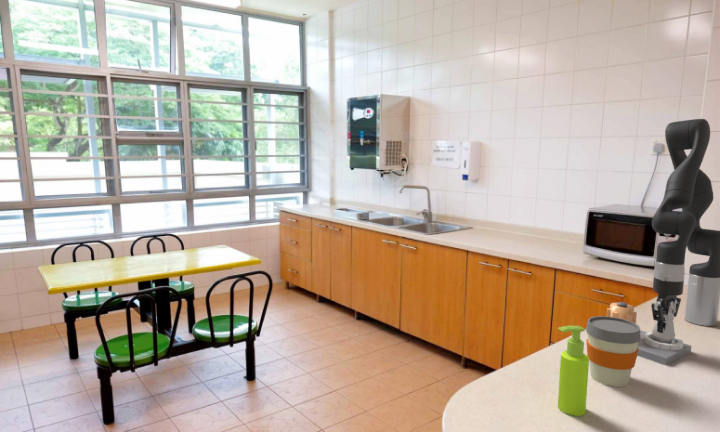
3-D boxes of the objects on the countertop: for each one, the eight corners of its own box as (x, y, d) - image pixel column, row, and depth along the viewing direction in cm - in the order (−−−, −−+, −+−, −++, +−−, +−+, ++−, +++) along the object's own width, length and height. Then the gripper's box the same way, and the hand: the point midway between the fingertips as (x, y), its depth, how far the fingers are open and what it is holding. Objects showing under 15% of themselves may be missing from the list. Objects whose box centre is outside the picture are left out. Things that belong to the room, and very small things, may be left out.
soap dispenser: (548, 403, 109) (553, 322, 106) (576, 401, 109) (581, 321, 107) (561, 416, 103) (566, 332, 100) (590, 415, 104) (596, 331, 101)
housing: (619, 329, 155) (622, 293, 153) (690, 352, 137) (694, 311, 135) (593, 340, 146) (596, 301, 144) (665, 365, 128) (669, 321, 127)
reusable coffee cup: (608, 393, 113) (612, 335, 111) (572, 370, 125) (575, 318, 123) (648, 386, 117) (653, 330, 115) (609, 365, 129) (613, 313, 127)
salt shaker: (667, 338, 141) (671, 298, 139) (678, 346, 135) (682, 304, 134) (647, 338, 142) (651, 297, 140) (657, 345, 136) (661, 303, 134)
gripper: (666, 271, 143) (661, 324, 145) (643, 277, 135) (638, 333, 137) (693, 276, 136) (688, 331, 139) (671, 283, 129) (666, 341, 131)
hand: (663, 332), depth 138 cm, fingers closed on salt shaker, 3 cm apart
